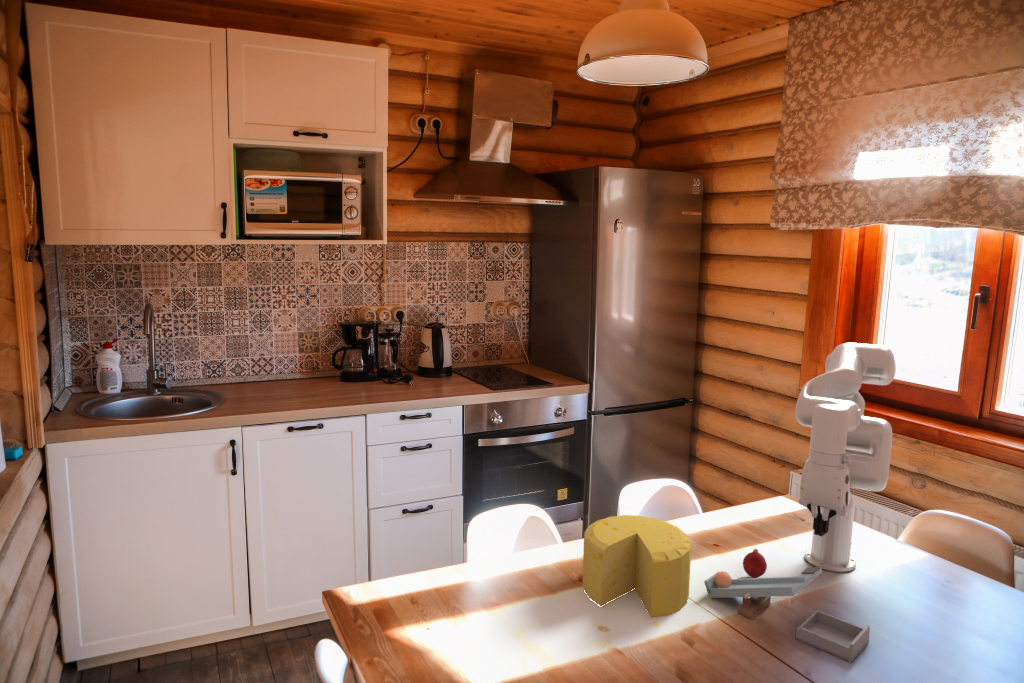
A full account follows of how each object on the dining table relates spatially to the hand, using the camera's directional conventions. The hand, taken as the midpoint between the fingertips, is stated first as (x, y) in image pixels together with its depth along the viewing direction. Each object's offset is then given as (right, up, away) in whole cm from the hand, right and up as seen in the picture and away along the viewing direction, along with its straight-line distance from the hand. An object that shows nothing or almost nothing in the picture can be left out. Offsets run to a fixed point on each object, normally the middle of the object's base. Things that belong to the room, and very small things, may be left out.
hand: (820, 533), depth 158 cm
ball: (-20, -15, +7) cm, 26 cm away
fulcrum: (-15, -19, +2) cm, 24 cm away
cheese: (-41, -17, +11) cm, 46 cm away
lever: (-12, -14, +4) cm, 18 cm away
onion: (-10, -17, +17) cm, 25 cm away
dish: (-2, -21, -10) cm, 23 cm away
